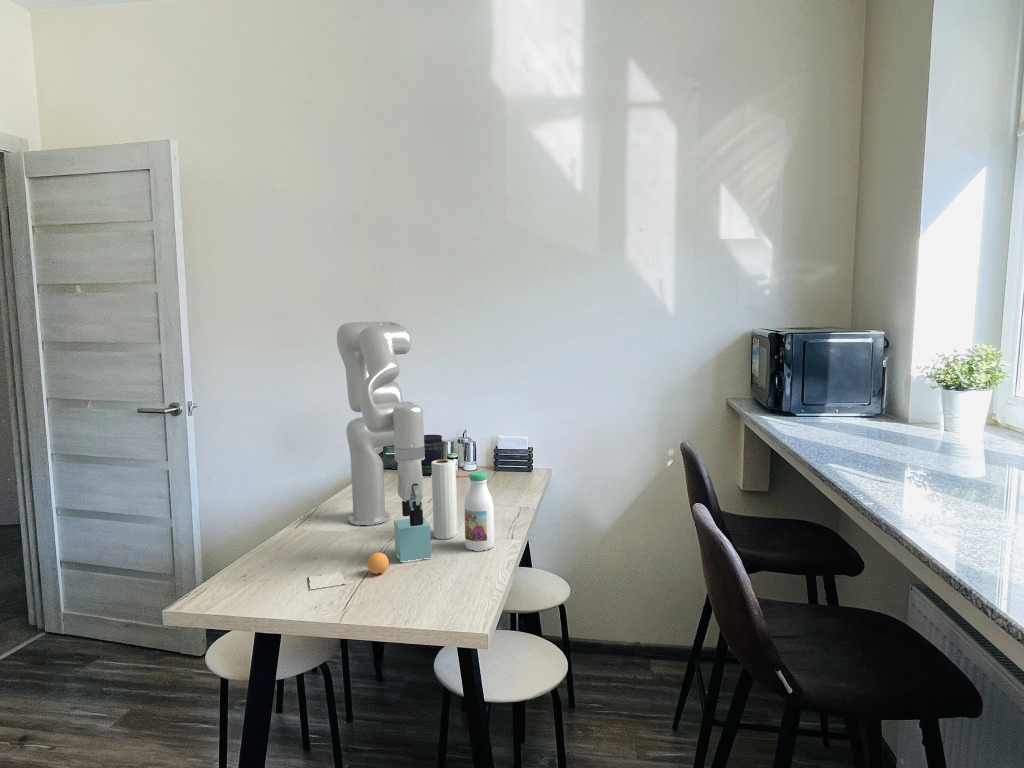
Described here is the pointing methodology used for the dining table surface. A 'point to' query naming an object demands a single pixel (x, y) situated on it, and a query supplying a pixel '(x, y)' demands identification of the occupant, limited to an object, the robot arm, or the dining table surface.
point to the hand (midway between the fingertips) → (412, 520)
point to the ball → (378, 563)
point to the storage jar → (431, 452)
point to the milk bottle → (479, 514)
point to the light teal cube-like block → (412, 540)
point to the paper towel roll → (444, 498)
